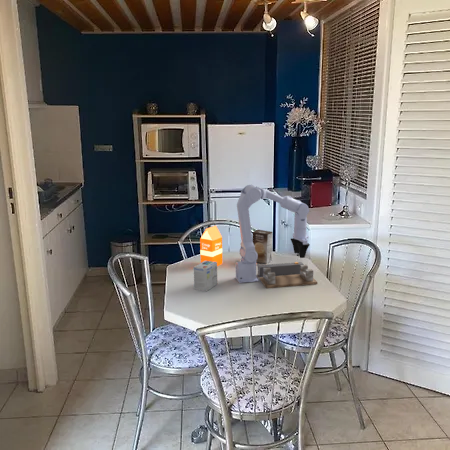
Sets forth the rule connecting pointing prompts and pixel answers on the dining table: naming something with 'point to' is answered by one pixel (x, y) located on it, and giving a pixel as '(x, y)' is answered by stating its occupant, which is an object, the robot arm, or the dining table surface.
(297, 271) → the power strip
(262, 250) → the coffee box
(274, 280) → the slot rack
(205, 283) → the light bulb box
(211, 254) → the orange juice
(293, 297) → the dining table surface
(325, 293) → the dining table surface
